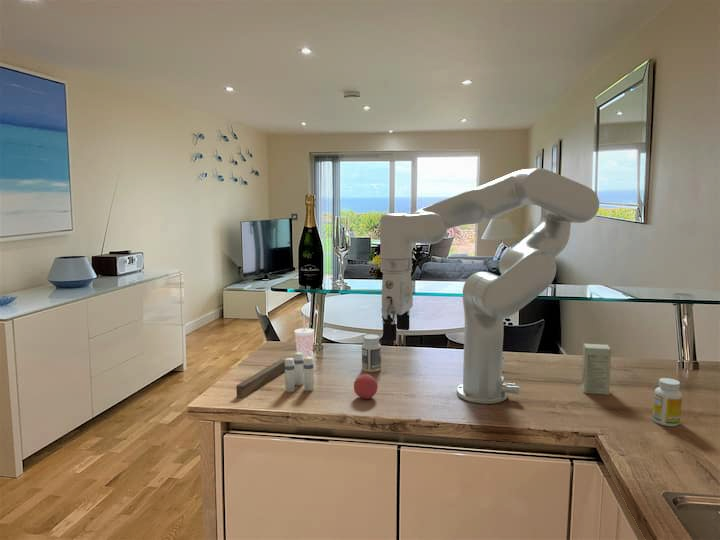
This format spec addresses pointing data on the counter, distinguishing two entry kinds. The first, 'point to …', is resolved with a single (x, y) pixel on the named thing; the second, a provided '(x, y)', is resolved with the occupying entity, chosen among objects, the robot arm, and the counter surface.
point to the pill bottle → (371, 353)
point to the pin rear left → (289, 375)
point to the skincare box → (596, 368)
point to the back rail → (260, 378)
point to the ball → (365, 386)
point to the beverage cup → (304, 340)
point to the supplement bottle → (667, 402)
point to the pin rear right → (298, 368)
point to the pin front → (308, 374)
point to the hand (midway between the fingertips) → (396, 334)
